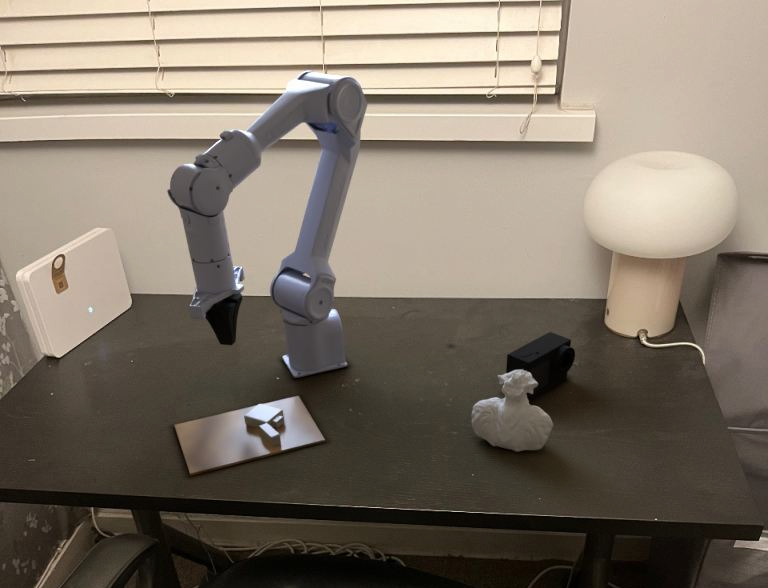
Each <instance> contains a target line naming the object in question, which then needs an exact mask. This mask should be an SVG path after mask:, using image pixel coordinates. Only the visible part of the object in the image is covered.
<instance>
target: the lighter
mask: <svg viewBox="0 0 768 588" xmlns="http://www.w3.org/2000/svg"><path fill="white" fill-rule="evenodd" d="M263 404H264V403H258V404H257V405H255V406H256V407H254V408H253V409H252V410H251V411H249V412H248V413H247V414H245V415H244V420H245V425H248V426H252V427H255V428H258V429H259V430H260V435H261V436H262V437H263V438H264V439H265V440H266V441H267V442H268V443H269V444H270V445H271V446H272V447H274V446H276V445H279V444H281V440H280V435H279V433H278V432H277V431H275V430H274V429H273V428H274V427H276V428H278V427H279V426H281V425H282V424H283V423H284V414H283V410H281V409H278V408H274V407H271V406H267V405H263Z"/></svg>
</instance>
